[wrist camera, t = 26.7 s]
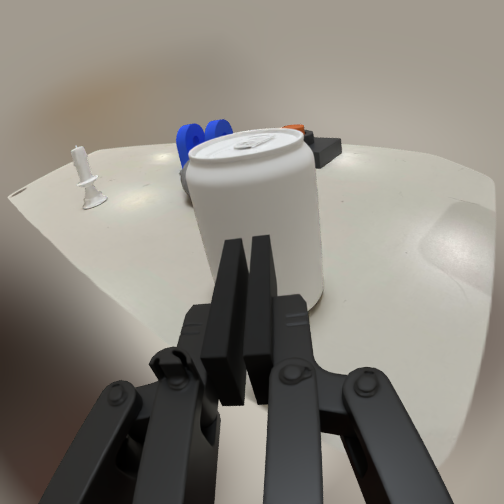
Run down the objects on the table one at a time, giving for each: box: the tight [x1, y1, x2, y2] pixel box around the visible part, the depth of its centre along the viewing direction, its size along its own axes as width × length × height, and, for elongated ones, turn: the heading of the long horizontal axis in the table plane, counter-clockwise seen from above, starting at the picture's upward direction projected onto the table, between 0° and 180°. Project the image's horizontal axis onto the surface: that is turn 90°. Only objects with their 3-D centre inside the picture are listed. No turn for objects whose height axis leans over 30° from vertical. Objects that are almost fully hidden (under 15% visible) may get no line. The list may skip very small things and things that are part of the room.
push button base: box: [304, 130, 342, 168], centre depth 55 cm, size 14×10×4 cm
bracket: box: [176, 119, 233, 169], centre depth 61 cm, size 18×8×9 cm, turn 157°
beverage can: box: [186, 128, 323, 310], centre depth 22 cm, size 8×8×12 cm
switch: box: [282, 125, 305, 135], centre depth 53 cm, size 4×4×2 cm
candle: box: [71, 146, 107, 209], centre depth 52 cm, size 5×5×12 cm
